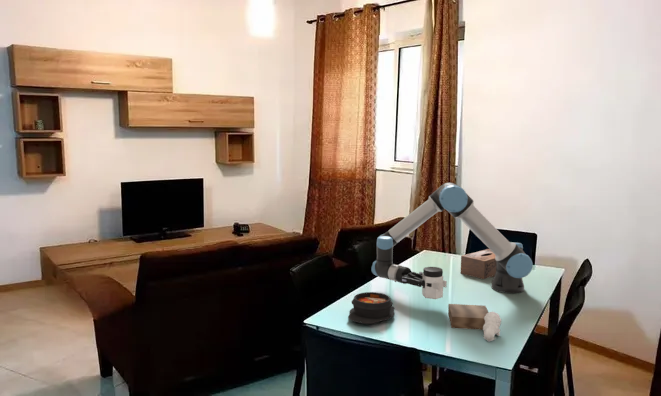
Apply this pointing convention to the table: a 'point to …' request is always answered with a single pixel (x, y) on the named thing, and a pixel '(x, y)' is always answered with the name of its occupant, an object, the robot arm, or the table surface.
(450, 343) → the table surface
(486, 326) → the white animal figurine
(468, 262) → the tissue box cover
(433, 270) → the jar
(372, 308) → the casserole
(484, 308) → the walnut block
